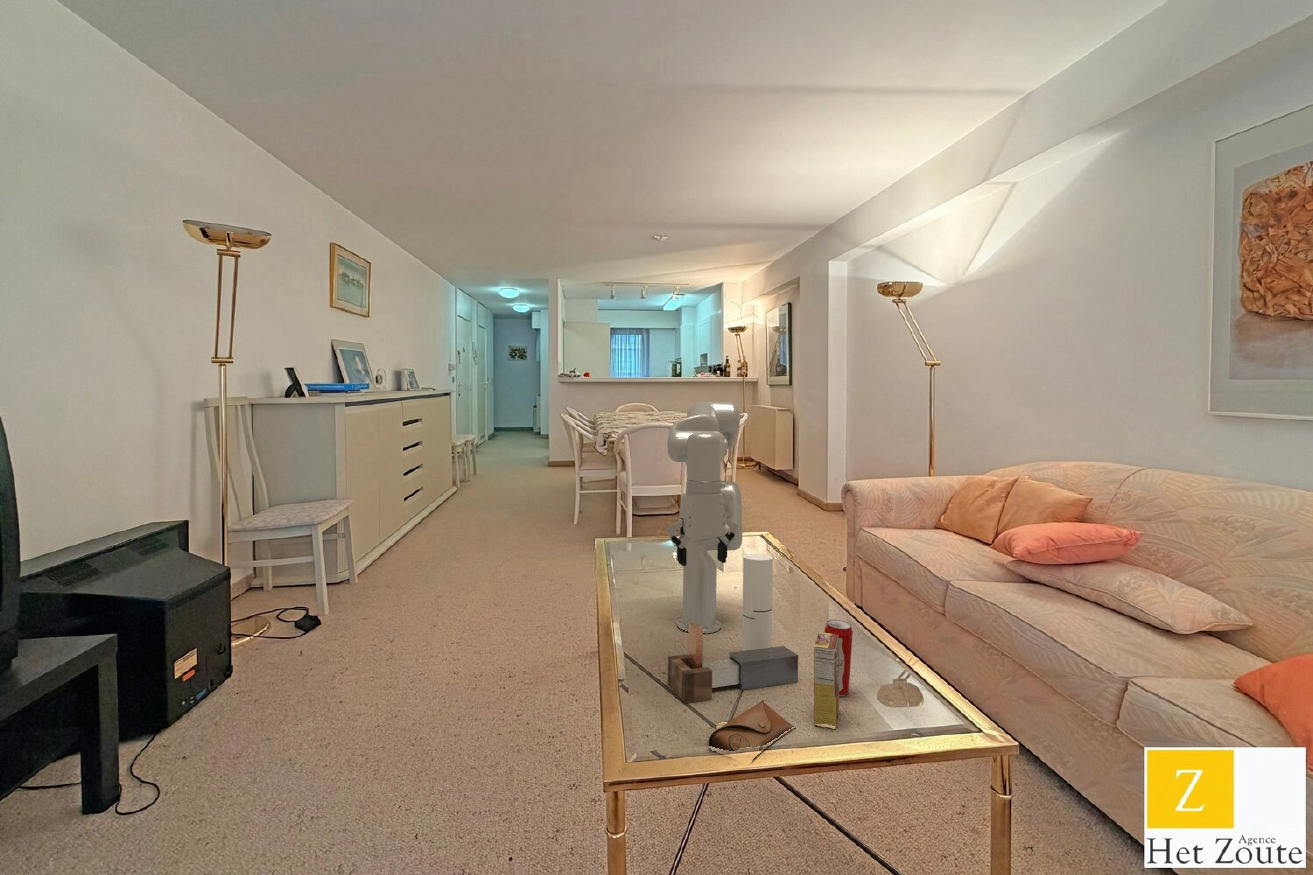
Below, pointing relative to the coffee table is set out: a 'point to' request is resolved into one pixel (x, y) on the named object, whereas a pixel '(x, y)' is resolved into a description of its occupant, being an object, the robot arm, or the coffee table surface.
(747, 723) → the sunglasses case
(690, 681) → the socket
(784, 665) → the grey metal block
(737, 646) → the coffee table surface
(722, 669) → the tan wooden slab
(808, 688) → the coffee table surface
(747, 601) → the cylindrical container
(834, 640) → the candy box
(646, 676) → the coffee table surface
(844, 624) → the beverage can
